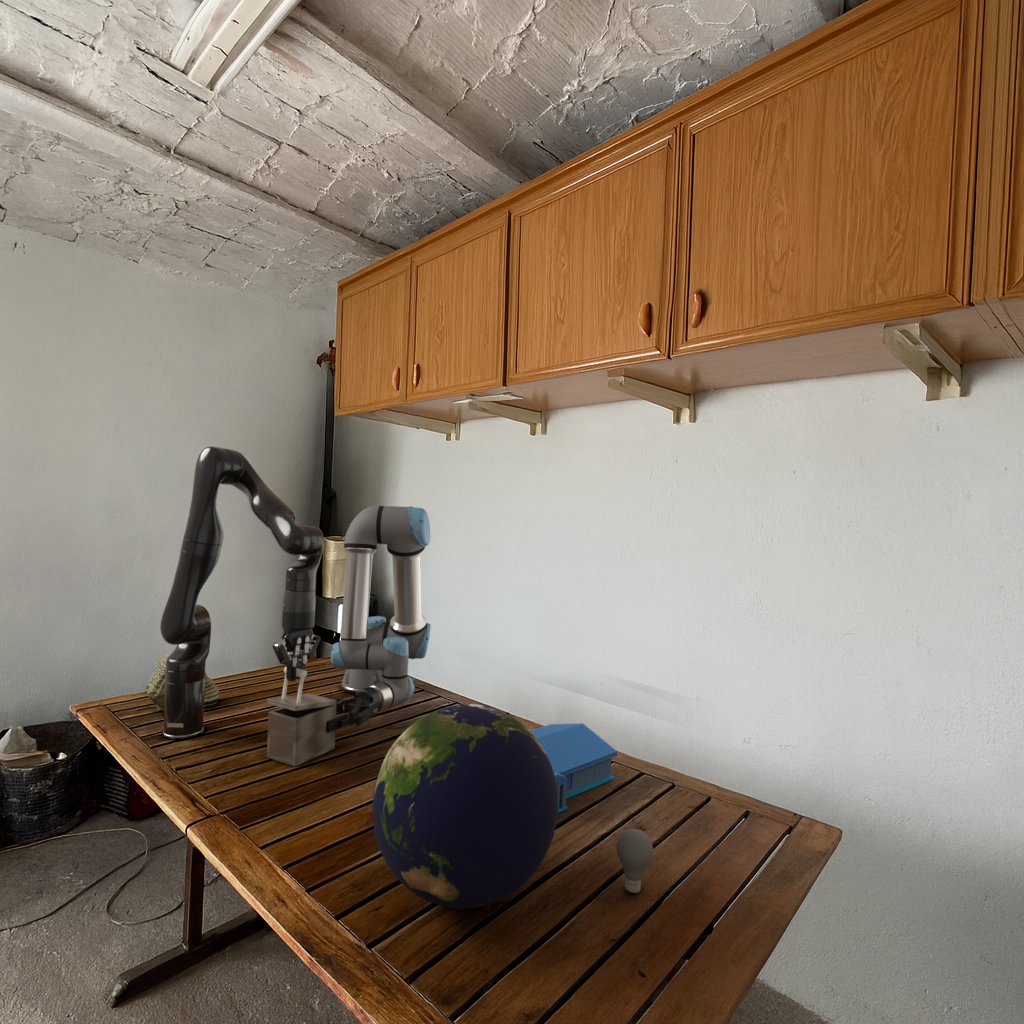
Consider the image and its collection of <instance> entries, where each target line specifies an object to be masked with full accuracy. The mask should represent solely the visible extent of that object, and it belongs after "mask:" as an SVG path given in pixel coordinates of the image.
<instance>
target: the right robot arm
mask: <svg viewBox="0 0 1024 1024" xmlns="http://www.w3.org/2000/svg"><path fill="white" fill-rule="evenodd" d="M430 542H431V525H430V519H429V515H428V512H427V511H426V509H425V508H423V507H416V506H415V507H414V506H412V505H410V506H393V505H381V504H380V505H379V504H377V505H371V506H368V507H366V508H364V509H363V510H361V511H360V512H359V513H357V514H356V516H355V517H354V519H352V521H351V523H350V524H349V526H348V529H347V530H346V533H345V536H344V541H343V543H344V544H343V550H344V551H345V552H346V563H345V575H344V586H343V587H344V589H343V603H342V615H341V616H342V617H341V626H340V627H341V628H340V641H339V642H335V643H333V645H332V648H331V654H330V662H331V666H332V667H333V668H334V669H343V670H345V672H344V675H343V678H342V681H341V686H340V687H341V690H342V691H343V692H345V693H347V694H352V695H354V696H352V697H348V698H344V696H342V695H339V696H337V697H334V698H333V699H334V700H337V703H336V714H337V713H340V715H339V716H336V718H334V719H331V720H329V721H327V732H328V733H329V732H332V731H334V730H336V731H337V730H339V729H341V728H344V727H346V726H353V725H355V726H357V727H359V726H361V725H362V724H364V723H366V722H367V721H369V720H370V719H371V718H372V717H375V716H378V713H380V712H381V711H384V710H387V709H389V708H392V707H394V706H397V705H401V704H403V703H404V702H406V701H407V700H410V699H411V698H412V697H413V695H414V693H415V685H414V681H413V679H412V678H411V677H410V676H409V675H408V672H409V660H415V659H416V660H420V659H422V660H423V659H424V658H425V657H426V656H427V652H428V647H429V642H430V637H431V630H432V624H431V623H429V622H427V618H426V617H425V615H424V614H422V577H421V575H422V574H421V571H422V570H421V554H422V553H424V552H425V550H426V547H427V546H429V544H430ZM378 545H386V551H387V552H388V554H390V555H391V556H392V579H393V580H392V581H393V605H394V607H393V608H394V609H393V610H394V615H393V616H392V617H391V619H390V620H389V621H387V619H386V617H385V616H380V615H376V616H375V615H374V616H369V613H370V601H371V600H370V598H371V584H372V571H373V557H374V554H375V553H376V552H377V549H378V548H377V547H378Z"/></svg>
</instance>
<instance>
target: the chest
mask: <svg viewBox="0 0 1024 1024" xmlns="http://www.w3.org/2000/svg"><path fill="white" fill-rule="evenodd" d="M267 715H268V717H267V719H268V720H267V745H266V746H267V747H266V758H267V759H271V760H275V761H277V762H279V763H283V764H285V765H289V766H293V767H298V766H299V765H302V764H304V763H306V762H309V761H310V760H312V759H315V758H317V757H319V756H321V755H324V754H325V753H328V752H330V751H332V750H335V748H336V731H337V730H334V731H332V732H329V733H328V732H327V721H329V720H331V719H334V718H336V717H337V713H336V705H332V706H325V707H318V708H312V709H305V710H298V711H293V710H289V709H286V708H282V707H278V708H276V709H274V710H273V709H272V710H270V711H268V714H267Z"/></svg>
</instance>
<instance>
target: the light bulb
mask: <svg viewBox="0 0 1024 1024" xmlns="http://www.w3.org/2000/svg"><path fill="white" fill-rule="evenodd" d="M615 849H616V854H617V857H618V859H619V861H620V863H621V865H622V867H623V873H624V874H623V875H624V876H625V878H624V888H625V890H627V891H628V892H630V893H634V894H635V893H639V892H640V891H641V889H642V887H641V886H642V879H643V877H644V875H645V871H646V868H647V867H648V866H649V864H650V863H651V861H652V859H653V855H654V847H653V843H652V841H651V838H649V836H648V835H647V834H646V833H645V832H643V831H642V830H641V829H636V828H629V829H627V830H625V831H623V832H622V833H621V834H620V835H619V837H618V839H617V841H616V847H615Z"/></svg>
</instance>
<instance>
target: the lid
mask: <svg viewBox="0 0 1024 1024" xmlns="http://www.w3.org/2000/svg"><path fill="white" fill-rule="evenodd" d="M286 669H287V666H285V667H284V668H283V674H284V680H283V685H282V686H283V687H282V692H281V696H277V697H276V696H275V697H268V698H266V704H269V705H271V706H275V707H278V708H286V709H289V710H293V711H298V710H305V709H312V708H318V707H325V706H332V705H336V703H337V700H334V698H329V697H325V696H321V695H317V694H313V693H303V689H304V682H305V678H306V677H307V676H308V671H307V670H306V669H305V670H302V669H297V668H296V676H297V677H300V680H299V683H298V689H297V694H293V695H287V691H288V684H289V681H288V680H287V678H286Z"/></svg>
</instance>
